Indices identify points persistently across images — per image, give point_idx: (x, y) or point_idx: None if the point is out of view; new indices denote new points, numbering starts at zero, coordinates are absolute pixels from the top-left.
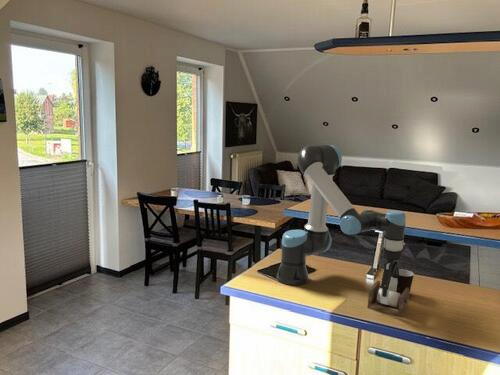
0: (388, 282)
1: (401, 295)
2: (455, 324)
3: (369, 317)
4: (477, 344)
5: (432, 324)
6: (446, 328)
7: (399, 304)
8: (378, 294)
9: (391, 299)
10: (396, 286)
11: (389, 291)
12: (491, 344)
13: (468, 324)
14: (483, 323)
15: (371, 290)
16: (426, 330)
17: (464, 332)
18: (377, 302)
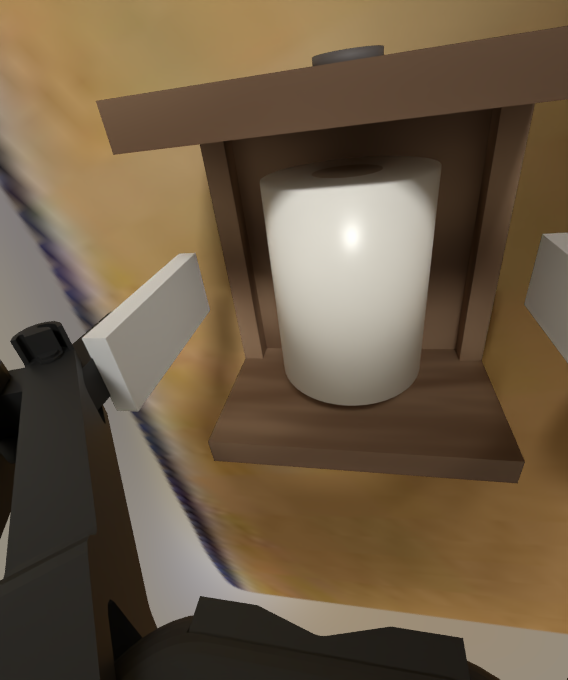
0: (12, 494)
1: (254, 449)
2: (361, 536)
3: (77, 193)
4: (247, 568)
5: (290, 475)
6: (294, 513)
7: (231, 396)
8: (265, 198)
9: (280, 329)
10: (563, 352)
11: (341, 318)
12: (280, 591)
13: (396, 566)
14: (444, 598)
15: (114, 146)
16: (210, 461)
17: (308, 551)
18: (302, 166)
